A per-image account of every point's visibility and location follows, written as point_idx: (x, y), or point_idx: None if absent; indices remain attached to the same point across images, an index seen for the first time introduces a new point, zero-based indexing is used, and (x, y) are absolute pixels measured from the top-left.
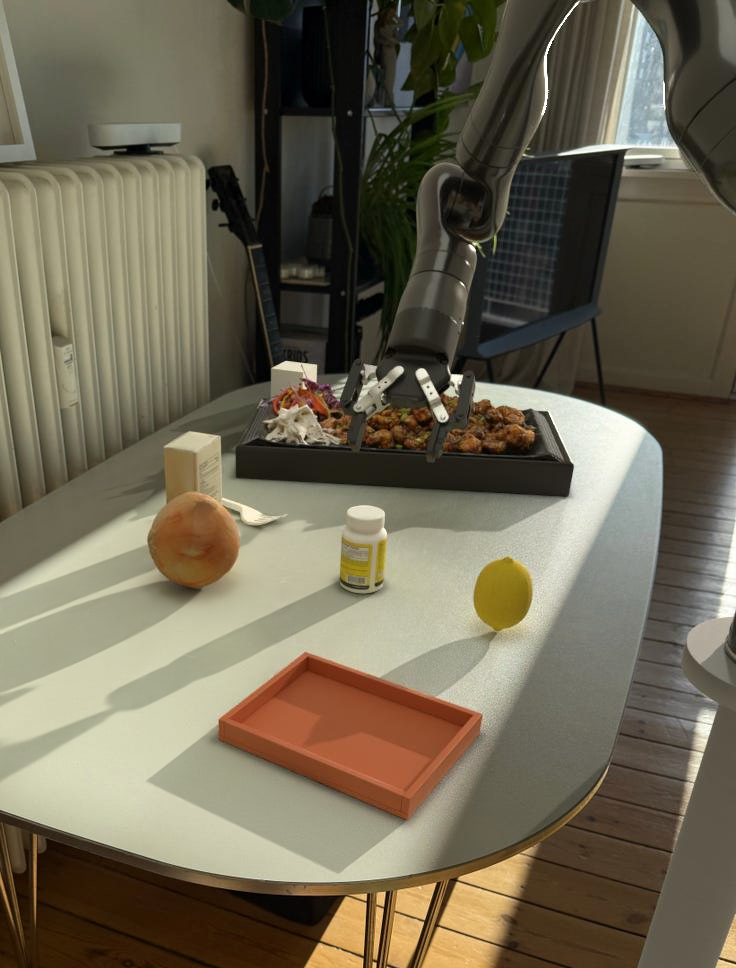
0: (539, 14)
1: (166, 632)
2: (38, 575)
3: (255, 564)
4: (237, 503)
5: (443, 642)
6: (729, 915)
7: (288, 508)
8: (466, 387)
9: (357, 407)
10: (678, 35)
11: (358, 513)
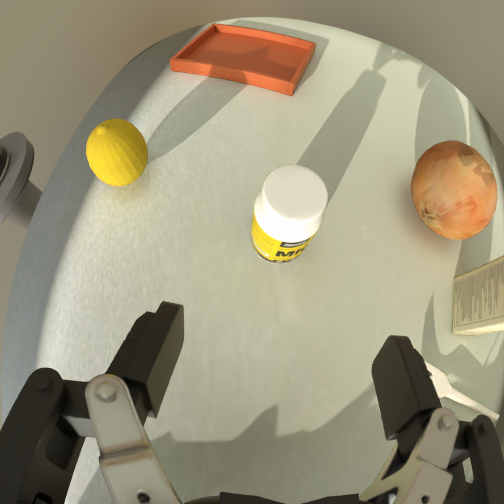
0: None
1: (402, 132)
2: (501, 204)
3: (403, 263)
4: (456, 395)
5: (182, 145)
6: None
7: None
8: (1, 478)
9: (448, 414)
10: None
11: (306, 183)
